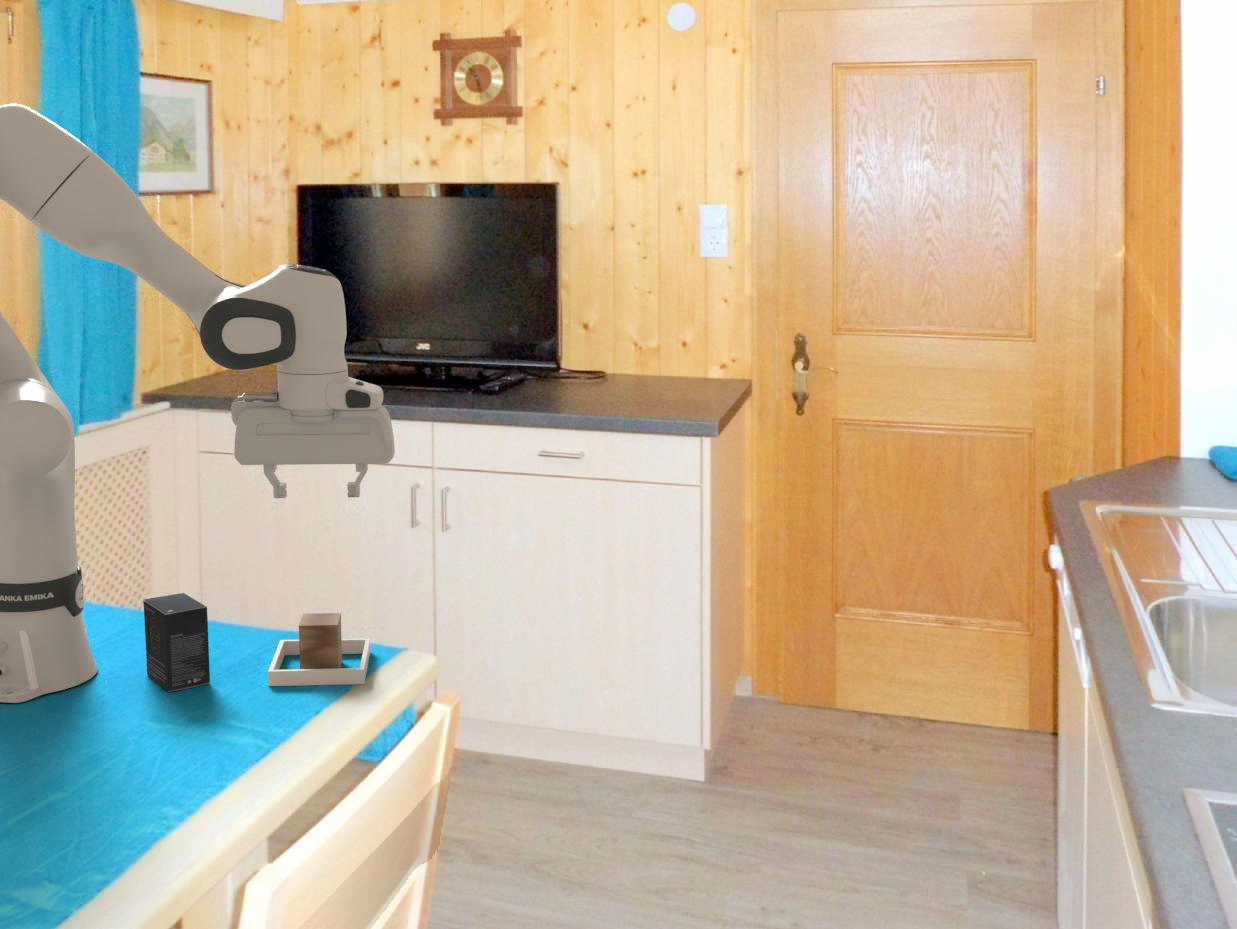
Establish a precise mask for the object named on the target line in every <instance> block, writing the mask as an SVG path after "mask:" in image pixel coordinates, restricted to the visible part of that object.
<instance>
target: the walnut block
mask: <svg viewBox="0 0 1237 929" xmlns="http://www.w3.org/2000/svg"><path fill="white" fill-rule="evenodd" d="M341 639H342V613H341V612H329V613H328V612H327V613H325V612H322V613H320V612H319V613H316V612H314V613H312V612H311V613H302V615H301V619H300V621H299V624H298V640H299V652H300V655H299V669H337V668H341V667H342V662H343V656H342V655H343V654H342V644H341Z"/></svg>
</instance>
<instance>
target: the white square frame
mask: <svg viewBox="0 0 1237 929" xmlns="http://www.w3.org/2000/svg"><path fill="white" fill-rule="evenodd" d="M341 644H342V655H354V654H355V655H356V654H357V655H361V654H362V655H361V660H360V665H359V667H350V668H348V667H347V668H343V667H342V668H337V669H300V668H299V669H298V668H295V669H293V668H291V669H288V668H287V669H281V666H282V663H283V661H284V658H285V656H298V655H299V656H300V652H299V639H280V640H279V643H278V645H277V648H276V650H275V652H274V655H273V657H272V660H271V663H270V666H269V668H268V670H267V677H268V678H267V679H268V681H267V684H268V687H289V686H290V687H292V686H296V687H299V686H326V685H327V686H331V685H332V686H333V685H334V686H337V685H338V686H339V685H343V686H344V685H365V683H366V677H367V672H368V666H369V661H370V656H371V637H370V638H369V637H367V638H366V637H365V638H363V637H362V638H341Z"/></svg>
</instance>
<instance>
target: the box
mask: <svg viewBox="0 0 1237 929" xmlns="http://www.w3.org/2000/svg"><path fill="white" fill-rule="evenodd" d="M143 618H144V636H145V655H146V674H147V676H148V677H149V678H151V679H152V680H153V681H154V682H156V683H157V684H158V685H159V686H161V687H162V688H163V689H165V690H166V691H167V692H170V693H171V692H175V691H176V692H177V691H181V690H187V689H191V688H197V687H201V686H206V685H209V684H210V683H211V672H210V647H209V624H208V623H209V622H208V606H206V605H205V604H203V603H201V602H199V601H198V600H197V599H195V598H193V597H191V596H190V595H188V594H186V593H185V592H181V593H176V594H170V595H169V594H168V595H164V596H162V595H161V596H157V597H156V596H155V597H150V598H145V599H143Z"/></svg>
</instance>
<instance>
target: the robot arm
mask: <svg viewBox="0 0 1237 929" xmlns="http://www.w3.org/2000/svg"><path fill="white" fill-rule="evenodd" d="M0 199H1V200H2V201H4V202H5V203H6V204H8V205H10V206H11V207H12V208H14V210H16V211H17V212H19V213H20V214H21V215H22V216H23V217H24V218H26V219H27V220H28V221H29V222H32V224H33V225H34V226H36V227H37V228H38V229H40V230H41V231H42V232H44V233H45V234H47V236H49V237H51V238H52V239H53V240H55V241H57V242H58V243H60V244H62V245H64V246H65V247H67V248H69V249H71V250H72V251H74V252H76V253H78V254H80V255H82V256H85V257H87V258H91V259H96V260H100V261H105V262H108V263H111V264H114V265H117V266H119V267H122V268H124V269H126V270H128V271H130V272H132V273H133V274H135V275H136V276H137V277H139V278H141V279H142V280H143V281H145V282H146V283H147V284H148V285H150V286H151V287H152V288H154V290H156V291H157V292H159V293H160V294H161V295H163V296H164V298H166V299H167V300H169V301H170V302H171V303H173V304H174V305H175V306H176V307H177V308H178V309H180V310H181V311H183V312H184V314H186V316H187V317H188V318H189V319H190V320H191V321H192V323H193V325H194V326H195V329H196V331H197V332H198V333H197V334H198V335H199V338H200V344H201V345H202V347H203V349H204V352H205V353H206V355H207V356H208V357H209V359H211V361H213V362H214V363H216V364H217V365H219V366H220V367H222V368H225V369H228V370H230V371H232V370H233V371H240V372H241V371H249V370H253V369H256V368H261V367H266V366H270V365H274V364H276V367H277V368H276V371H277V372H276V373H277V374H276V376H277V392H276V391H275V392H270V391H269V392H268V391H267V392H260V393H258V392H257V393H256V392H244V393H242V395H240V396H237V397H236V398H235V399H234V400H233V401H232V403H231V406H230V410H231V412H230V414H231V420H232V422H233V424H234V425H235V433H234V436H235V437H234V447H233V448H234V459H235V460H236V461H237V463H238V464H239V465H242V466H262V467H263V475H264V476H265V477H266V479H267V481H268V482H269V483H270V484H271V486H272V488H273V490H272V491H273V492H272V493H273V499H286V497H288V495H287V494H288V490H287V488H288V487H287V482H280V480H279V478H278V477H277V475H276V474H275V472H276V470H278V466H283V465H284V466H285V465H286V466H287V465H288V466H289V465H293V466H294V465H298V466H299V465H355V472H356V473H358V475H357V477H356V479H355V480H354V481H348V483H347V498H360V496H361V483H362V482H363V480H364V477H365V476H366V474H367V472H368V470H369V466H368V465H383V464H384V465H386V464H389V463H390V462H391V461H392V460H393V459H394V457H395V453H396V452H395V437H394V430H393V423H392V420H391V416H390V412H389V411H388V409H387V408H386V407H385V406H384V405H382V404H383V402H384V391H383V388H382V387H381V386H379V385H377V384H374V383H369V382H367V381H363V380H360V379H357V378H353V377H351V376H349V371H348V370H349V368H348V363H347V362H348V361H347V359H346V357H345V344H346V339H347V334H348V332H347V331H348V330H347V314H346V303H345V297H344V296H345V295H344V291H343V287H342V284H341V282H340V280H339V279H338V278H337V276H336V275H334V274H333V273H332V272H330V271H328V270H326V269H323V268H319V267H315V266H310V265H304V264H294V263H285V264H282V265H279V267H278V268H277V269H276V270H275V271H273V272H272V273H271V274H269V275H267V276H266V277H263V278H262V279H260V280H258V281H256V282H254V283H251V284H250V285H246V284H245V285H244V284H240V283H237V282H234V281H230V280H227V279H225V278H222V277H221V276H219V275H217V274H216V273H215V272H213V271H212V270H210V269H209V268H208V267H207V266H205V264H203V263H202V262H200V261H199V260H198V259H197V258H195V257H194V256H193V255H192V254H190V253H189V252H188V251H187V250H185V249H184V248H183V247H182V246H180V244H178V243H177V242H176V241H175V240H173V239H172V238H171V237H170V236H169V235H168V234H166V232H165V231H163V229H162V228H161V227H160V226H159V225H158V224H157V222H156V221H155V219H154V218H153V217H152V216H151V214H150V213H149V210H147V209H146V207H145V205H144V204H143V202H142V201H141V200H140V198H139V197H138V195H137V194H136V193H135V192H134V191H133V189H132V188H131V187H130V186H129V185H128V184H127V182H126V181H125V180H124V179H123V178H122V177H121V176H120V175H119V174H118V172H116V170H114V169H113V167H112V166H110V164H108V163H107V162H106V161H105V160H104V159H103V158H102V157H100V155H98V154H97V153H96V152H94V150H92V149H91V148H90V147H88V146H87V145H86V144H84V143H83V142H82V141H80V139H78V138H77V137H75V136H74V135H73V134H71V133H70V132H68V131H67V130H66V129H64V128H62V127H61V126H60V125H58V124H57V123H56V122H53V121H52V120H50V119H49V118H47V117H45V116H44V115H42V114H40V113H38V112H37V111H35V110H33V109H31V108H30V107H28V106H25V105H22V104H17V103H9V104H4V105H1V106H0ZM72 417H73V416H72V414H71V413H70V411H69V409H68V407H67V406H66V405H65V404H64V402H63V401H62V400H61V398H60V396H59V395H58V394H57V392H56V391H55V389H54V388H53V386H52V385H51V384H50V382H49V381H48V379H47V378H46V376H45V375H44V374H43V372H42V371H41V369H40V368H39V366H38V365H37V364H36V361H35V360H34V359H33V357H32V356H31V354H30V353H29V351H28V349H27V348H26V347H25V345H24V343H23V342H22V341H21V339H20V338H19V336H18V335H17V332H16V331H15V330H14V329H13V327H12V326H11V323H10V322H9V321H8V320H7V318H6V316H5V314H4V313H3V312H2V310H1V309H0V703H7V704H8V703H9V704H11V703H12V704H18V703H25V702H27V701H30V700H32V699H35V698H38V697H41V696H42V695H46V694H50V693H55V692H58V691H59V692H60V691H63V690H67V689H69V688H73V687H76V686H79V685H81V684H83V683H85V682H87V681H89V680H90V679H92V678H93V677H94V676H95V675H96V674H97V673H98V670H99V668H98V665H97V662H96V660H95V657H94V654H93V652H92V649H91V646H90V641H89V638H88V633H87V630H86V624H85V618H84V611H83V610H84V607H85V583H84V580H83V573H82V567H80V565H78V563H79V562H78V548H77V547H78V546H77V531H76V518H75V517H76V515H75V494H76V492H75V491H76V490H75V489H76V457H75V456H76V455H75V454H76V453H75V452H76V450H75V449H76V447H75V445H76V444H75V425H74V424H75V423H74V420H73V418H72ZM277 465H278V466H277Z"/></svg>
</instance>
